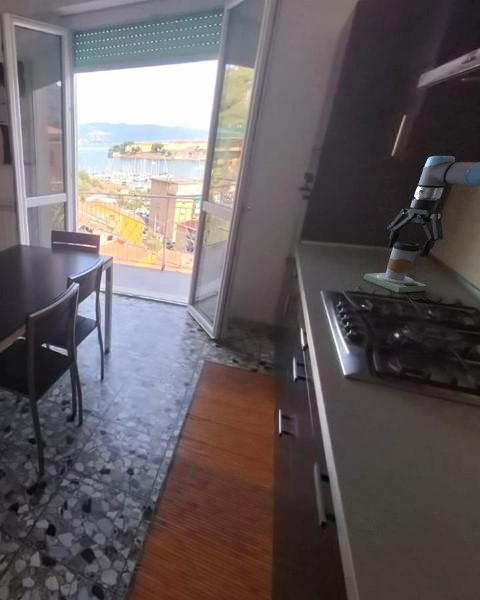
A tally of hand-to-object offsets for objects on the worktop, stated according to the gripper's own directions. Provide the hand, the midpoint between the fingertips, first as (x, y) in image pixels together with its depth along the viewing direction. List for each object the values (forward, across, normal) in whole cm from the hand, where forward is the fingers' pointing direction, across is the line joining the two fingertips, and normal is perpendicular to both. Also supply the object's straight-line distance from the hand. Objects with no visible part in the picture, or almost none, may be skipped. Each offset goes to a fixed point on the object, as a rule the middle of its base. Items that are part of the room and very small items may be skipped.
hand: (406, 251), depth 147 cm
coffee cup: (+12, -1, 0) cm, 12 cm away
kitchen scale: (+15, 0, 0) cm, 15 cm away
